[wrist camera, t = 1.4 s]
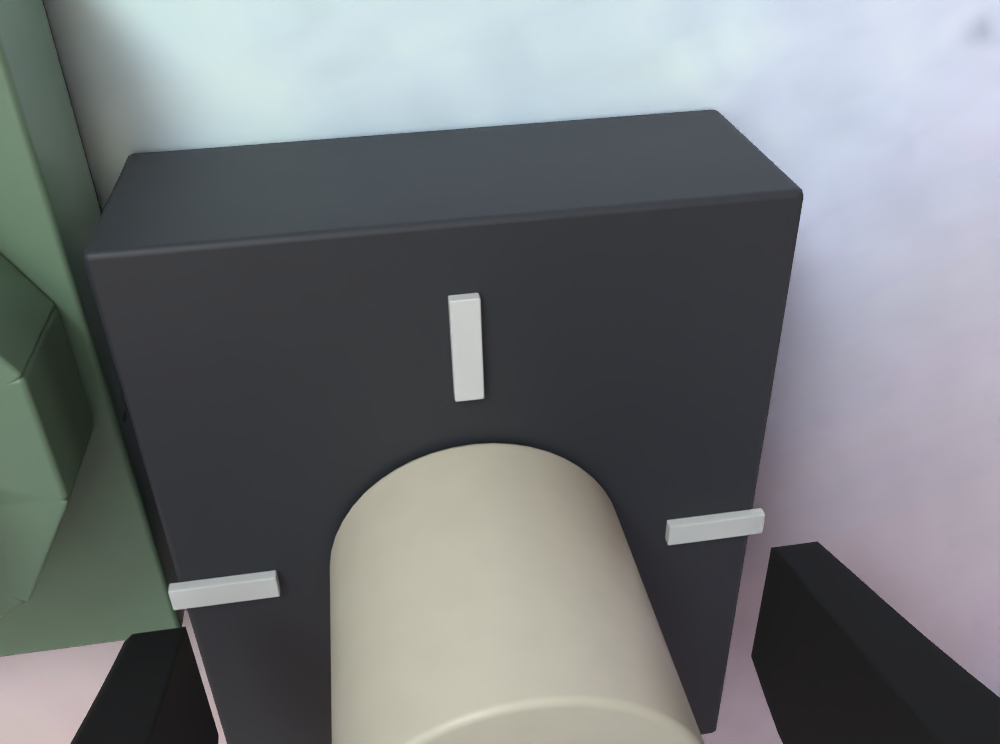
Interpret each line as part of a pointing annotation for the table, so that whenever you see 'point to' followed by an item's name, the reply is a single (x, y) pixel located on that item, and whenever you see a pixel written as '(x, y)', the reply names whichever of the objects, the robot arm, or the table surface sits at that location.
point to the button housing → (62, 387)
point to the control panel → (443, 360)
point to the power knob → (495, 611)
